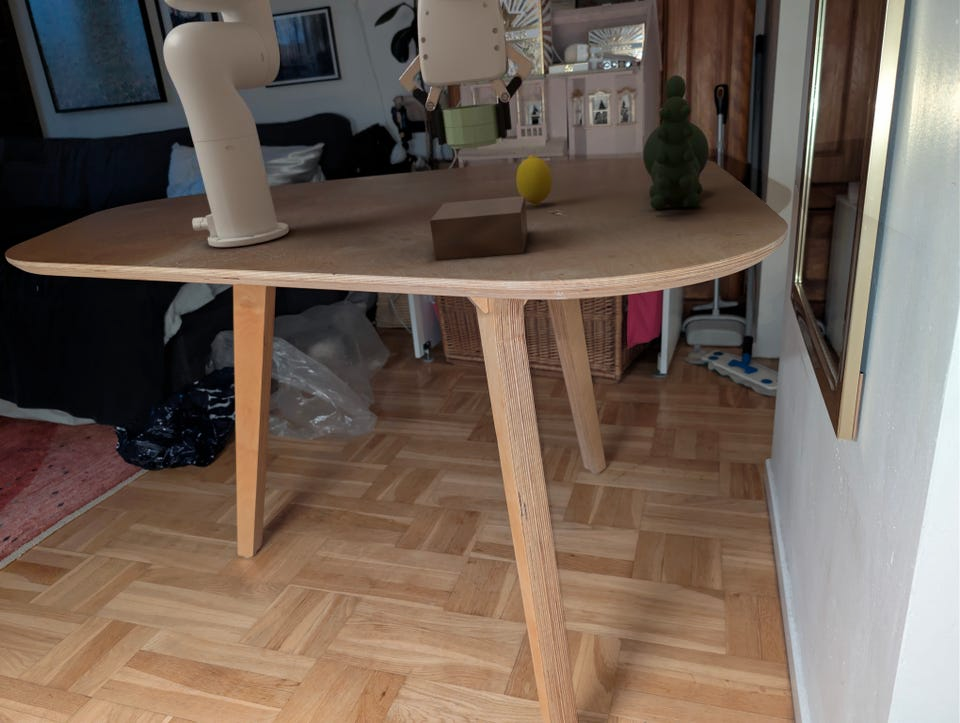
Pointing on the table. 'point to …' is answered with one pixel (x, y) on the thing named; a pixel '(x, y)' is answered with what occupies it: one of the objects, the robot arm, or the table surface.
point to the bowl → (471, 126)
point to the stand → (480, 228)
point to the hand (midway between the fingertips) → (473, 139)
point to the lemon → (533, 180)
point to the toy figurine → (675, 152)
